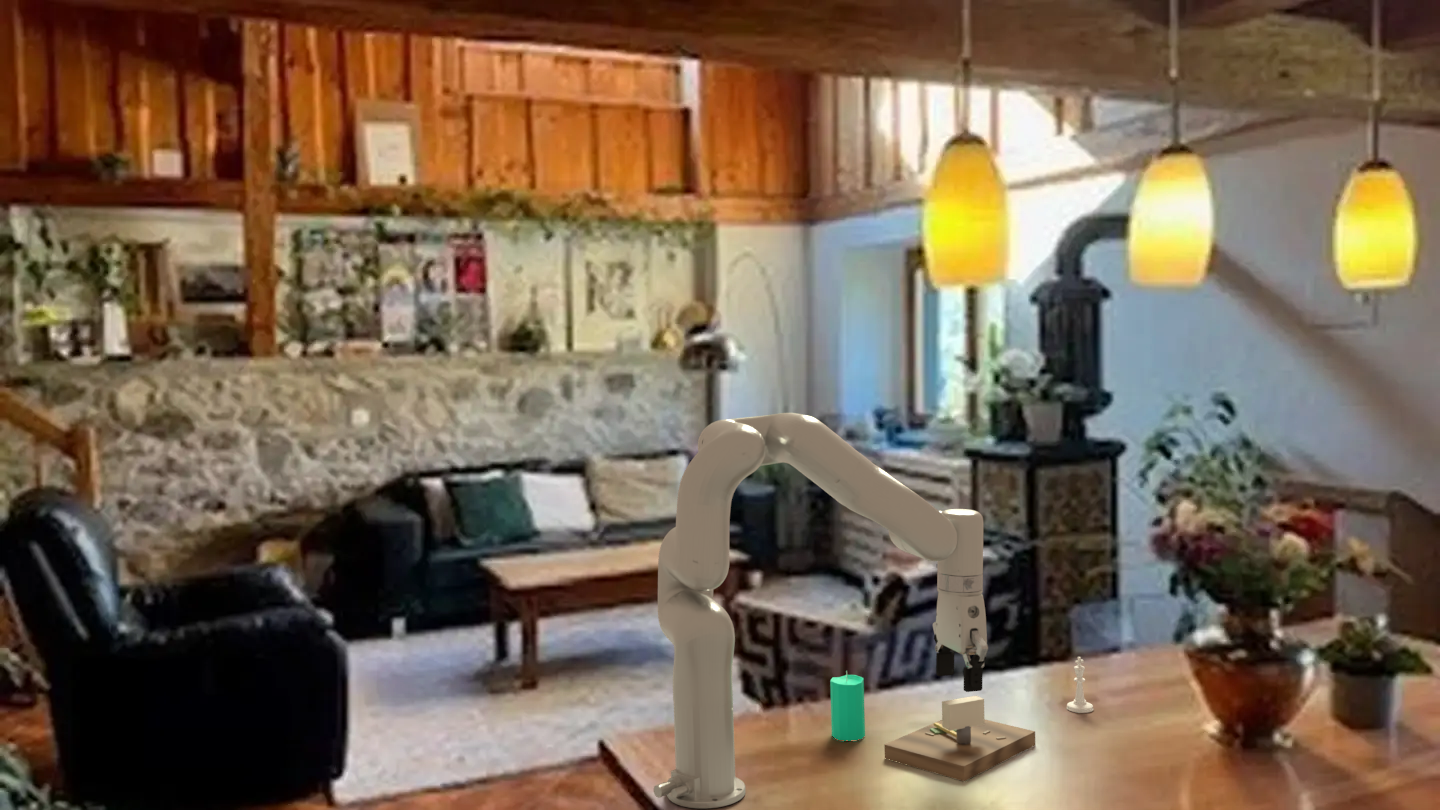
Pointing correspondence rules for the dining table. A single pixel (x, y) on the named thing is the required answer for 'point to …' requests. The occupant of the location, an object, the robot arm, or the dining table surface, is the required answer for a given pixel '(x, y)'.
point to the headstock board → (960, 749)
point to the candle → (847, 707)
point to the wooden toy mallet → (962, 717)
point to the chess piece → (1079, 692)
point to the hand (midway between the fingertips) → (958, 682)
